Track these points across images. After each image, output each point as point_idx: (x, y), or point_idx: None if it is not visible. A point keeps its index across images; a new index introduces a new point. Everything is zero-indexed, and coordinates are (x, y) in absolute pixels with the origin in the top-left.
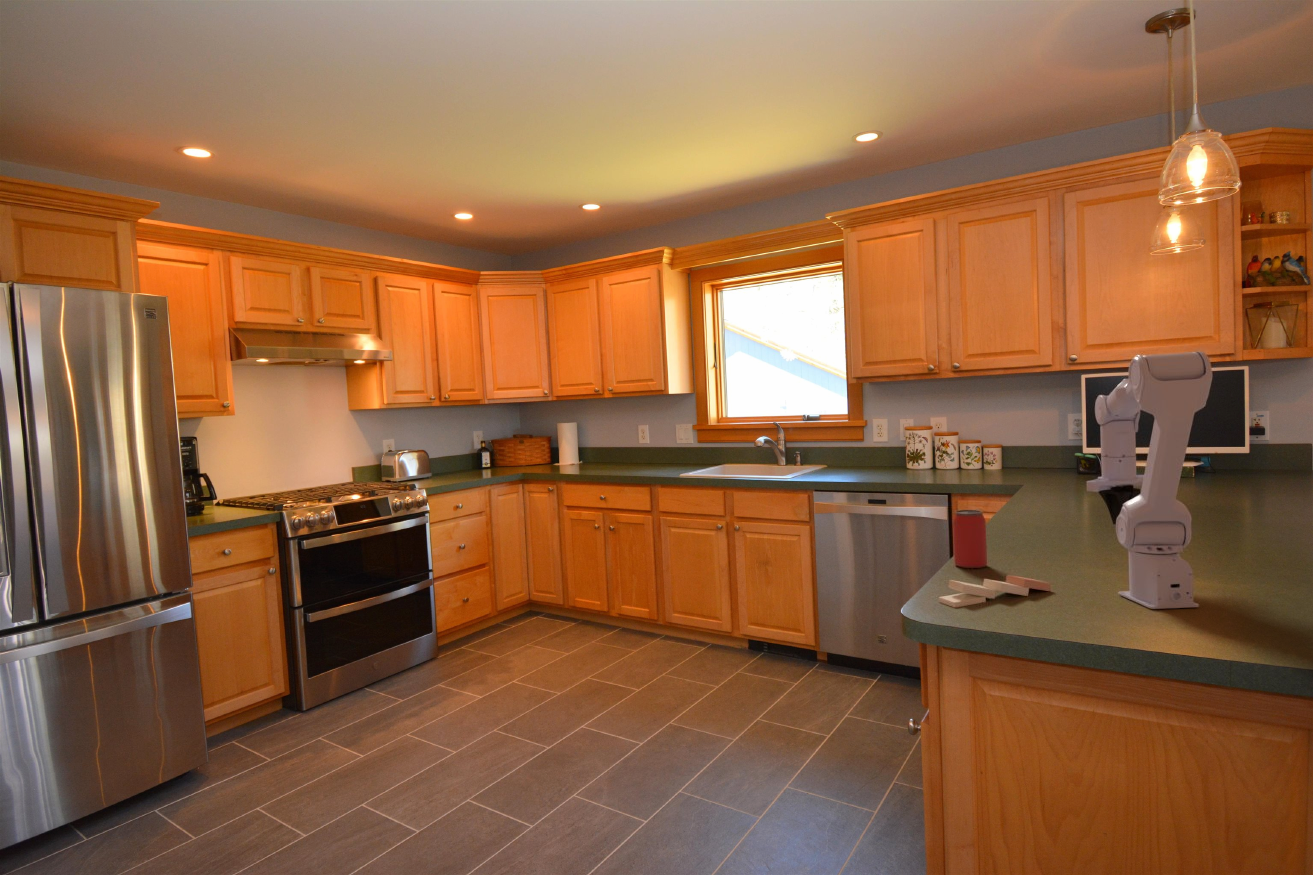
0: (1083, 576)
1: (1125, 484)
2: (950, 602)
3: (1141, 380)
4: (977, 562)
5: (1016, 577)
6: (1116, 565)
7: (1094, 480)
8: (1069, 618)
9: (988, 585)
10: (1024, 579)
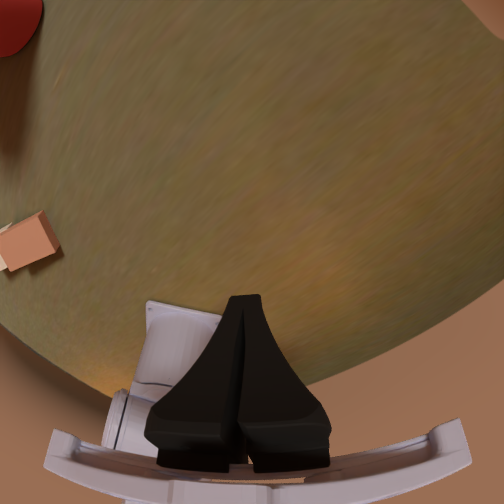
0: (170, 172)
1: (301, 475)
2: None
3: None
4: (3, 56)
5: (2, 257)
6: (341, 114)
7: (86, 482)
8: (54, 331)
9: None
10: (10, 270)
